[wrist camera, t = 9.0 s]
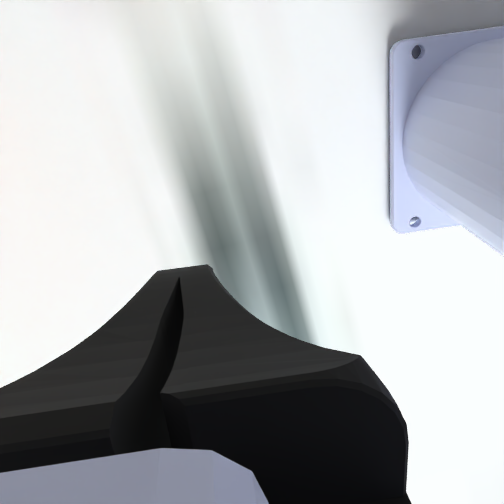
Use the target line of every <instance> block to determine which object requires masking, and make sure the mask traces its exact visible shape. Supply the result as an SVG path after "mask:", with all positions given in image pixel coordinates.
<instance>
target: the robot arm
mask: <svg viewBox="0 0 504 504" xmlns="http://www.w3.org/2000/svg"><path fill="white" fill-rule="evenodd" d="M416 45H418V46H419V47H420V49H421V53H420V55H419V57H418V58H416V59H414V58H413V57H412V49H413V48H414V47H415V46H416ZM415 216H416V217H417V218H418V219H417V221H416V222H415V223H414V224H412V225H410V224H409V222H410V220H411V219H412V218H413V217H415ZM390 223H391V227H392V228H393V229H394V230H395V231H396V232H397V233H399V234H405V233H412V232H419V231H426V230H432V229H439V228H446V227H453V226H459V225H461V226H462V227H464V228H465V229H466V230H468V231H469V232H471V233H472V234H473V235H475V236H476V237H477V238H479V239H480V240H482V241H483V242H484V243H486V244H487V245H489V246H490V247H491V248H493V249H494V250H495V251H497V252H498V253H500V254H501V255H502V256H504V26H498V27H491V28H483V29H476V30H469V31H462V32H454V33H447V34H440V35H432V36H425V37H418V38H411V39H403V40H400V41H397V42H396V43H395V44H394V45H393V46H392V48H391V50H390ZM408 444H409V441H408V433H407V425H406V422H405V420H404V418H403V416H402V414H401V412H400V410H399V408H398V406H397V404H396V402H395V400H394V399H393V397H392V396H391V394H390V392H389V391H388V389H387V388H386V387H385V385H384V384H383V383H382V381H381V380H380V379H379V378H378V376H377V375H376V374H375V372H374V371H373V370H372V369H371V367H370V366H369V365H368V364H367V362H366V361H365V360H364V359H363V358H362V357H361V356H360V355H356V354H351V353H347V352H342V351H337V350H332V349H327V348H323V347H320V346H317V345H313V344H310V343H307V342H304V341H301V340H299V339H296V338H294V337H291V336H289V335H287V334H285V333H282V332H280V331H278V330H276V329H274V328H272V327H270V326H269V325H267V324H265V323H263V322H262V321H260V320H259V319H257V318H256V317H255V316H253V315H252V314H251V313H249V312H248V311H247V310H246V309H245V308H244V307H243V306H241V305H240V304H239V303H238V302H237V301H236V300H235V299H234V298H233V297H232V296H231V295H230V293H229V292H228V291H227V290H226V289H225V288H224V287H223V285H222V284H221V283H220V281H219V280H218V279H217V277H216V276H215V274H214V272H213V269H212V268H211V267H210V266H209V265H199V266H191V267H184V268H176V269H169V270H161V271H157V272H156V273H155V274H154V275H153V276H152V277H151V278H150V279H149V280H148V282H147V283H146V284H145V285H144V286H143V287H142V288H141V289H140V290H139V291H138V292H137V293H136V295H135V296H134V297H133V298H132V299H131V300H130V301H129V302H128V303H127V304H126V305H125V306H124V307H123V308H122V309H121V310H119V311H118V312H117V313H116V314H115V315H114V316H113V317H112V318H111V319H110V320H109V321H108V322H106V323H105V324H104V325H103V326H102V327H101V328H99V329H98V330H97V331H96V332H94V333H93V334H92V335H91V336H89V337H88V338H86V339H85V340H84V341H82V342H81V343H80V344H78V345H77V346H75V347H74V348H72V349H71V350H69V351H68V352H66V353H64V354H63V355H61V356H59V357H58V358H56V359H54V360H53V361H51V362H49V363H48V364H46V365H44V366H43V367H41V368H39V369H38V370H36V371H34V372H32V373H30V374H28V375H26V376H24V377H22V378H20V379H18V380H16V381H15V382H12V383H10V384H8V385H6V386H4V387H2V388H0V504H411V502H410V500H409V497H408V495H407V493H406V481H407V462H408Z"/></svg>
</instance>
